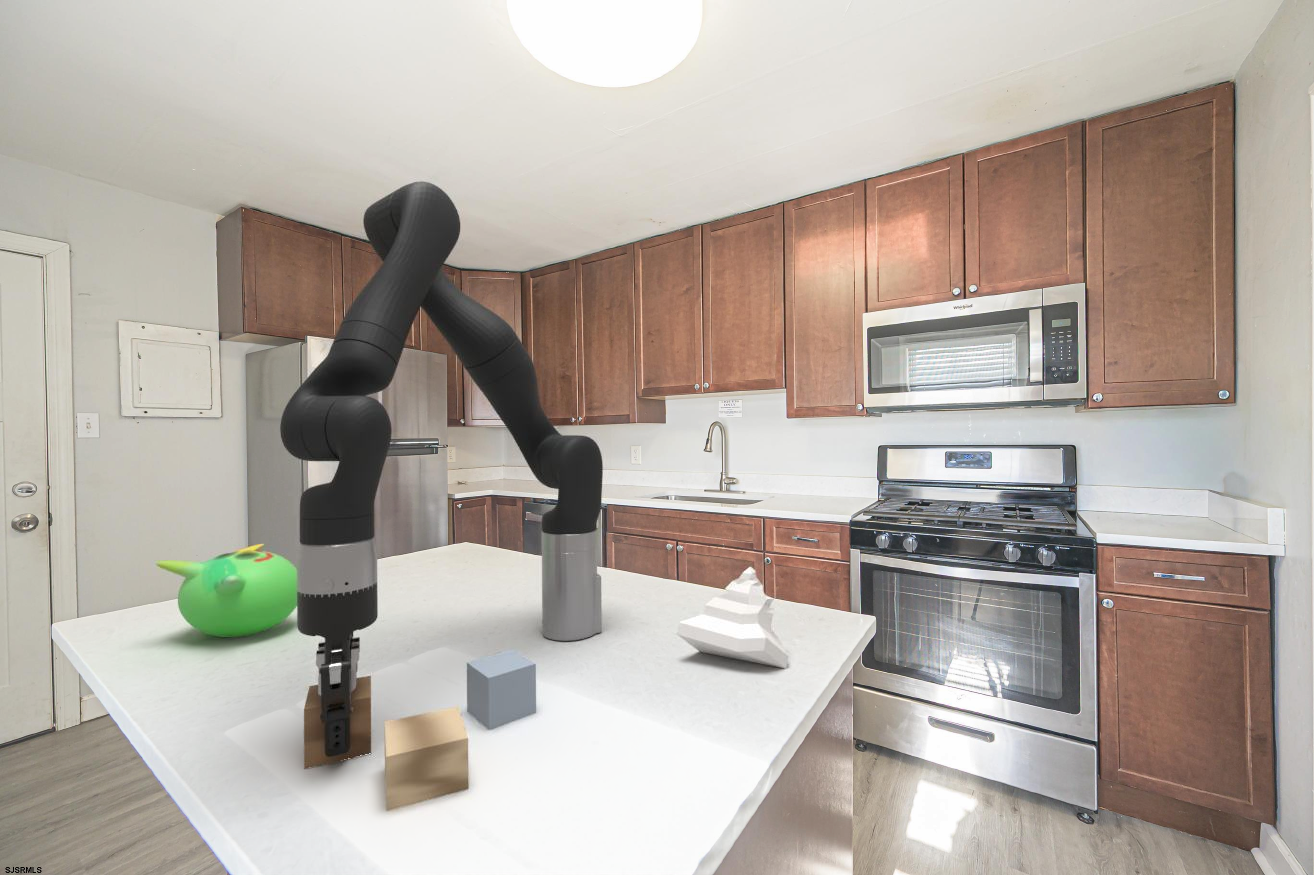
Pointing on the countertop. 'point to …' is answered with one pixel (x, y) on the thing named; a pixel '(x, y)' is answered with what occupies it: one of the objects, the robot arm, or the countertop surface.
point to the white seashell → (737, 625)
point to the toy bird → (236, 591)
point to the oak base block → (425, 757)
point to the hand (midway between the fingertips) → (339, 737)
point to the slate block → (501, 688)
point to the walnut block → (358, 725)
